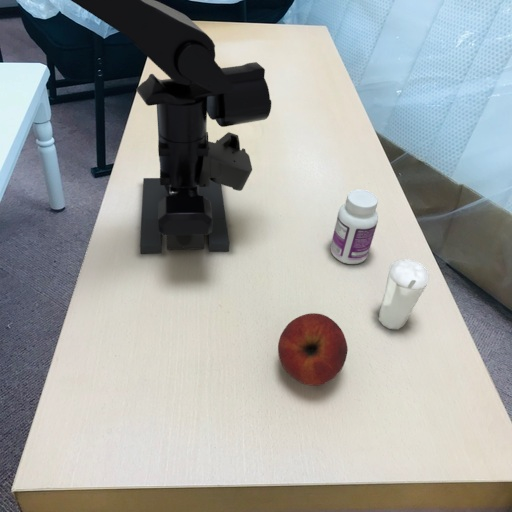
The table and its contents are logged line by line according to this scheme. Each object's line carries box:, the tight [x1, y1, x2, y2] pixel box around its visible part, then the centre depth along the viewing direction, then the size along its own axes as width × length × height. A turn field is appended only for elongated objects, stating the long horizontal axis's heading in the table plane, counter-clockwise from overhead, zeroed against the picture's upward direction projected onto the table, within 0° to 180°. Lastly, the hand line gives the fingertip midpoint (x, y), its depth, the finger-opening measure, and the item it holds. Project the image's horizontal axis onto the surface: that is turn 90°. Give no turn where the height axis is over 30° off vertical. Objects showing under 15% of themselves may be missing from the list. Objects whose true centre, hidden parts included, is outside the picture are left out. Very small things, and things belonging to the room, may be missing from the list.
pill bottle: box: [330, 188, 379, 265], centre depth 69 cm, size 5×5×10 cm
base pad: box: [139, 177, 230, 255], centre depth 75 cm, size 12×16×2 cm
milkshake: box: [378, 258, 430, 330], centre depth 60 cm, size 4×5×10 cm
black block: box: [165, 234, 205, 250], centre depth 70 cm, size 5×5×3 cm
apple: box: [277, 312, 349, 387], centre depth 55 cm, size 7×8×8 cm
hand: (184, 231), depth 71 cm, fingers closed on black block, 5 cm apart
